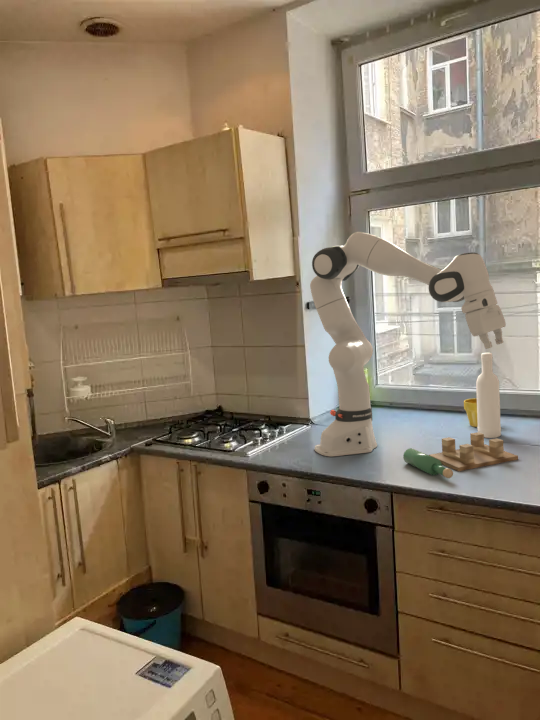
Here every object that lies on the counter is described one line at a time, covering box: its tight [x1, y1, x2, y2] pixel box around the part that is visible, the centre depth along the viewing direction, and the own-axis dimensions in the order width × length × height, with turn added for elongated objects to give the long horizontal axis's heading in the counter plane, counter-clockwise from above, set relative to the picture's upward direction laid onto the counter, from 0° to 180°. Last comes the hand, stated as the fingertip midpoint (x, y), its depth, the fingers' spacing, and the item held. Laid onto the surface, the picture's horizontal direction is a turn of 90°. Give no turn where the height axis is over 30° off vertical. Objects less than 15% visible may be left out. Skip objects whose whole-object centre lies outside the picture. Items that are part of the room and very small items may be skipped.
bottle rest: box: [428, 431, 519, 472], centre depth 197 cm, size 22×16×6 cm
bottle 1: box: [403, 447, 454, 479], centre depth 188 cm, size 21×5×5 cm, turn 19°
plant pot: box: [463, 397, 478, 428], centre depth 238 cm, size 10×10×10 cm
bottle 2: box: [475, 352, 502, 439], centre depth 221 cm, size 8×8×30 cm
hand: (494, 345), depth 189 cm, fingers open, 8 cm apart
